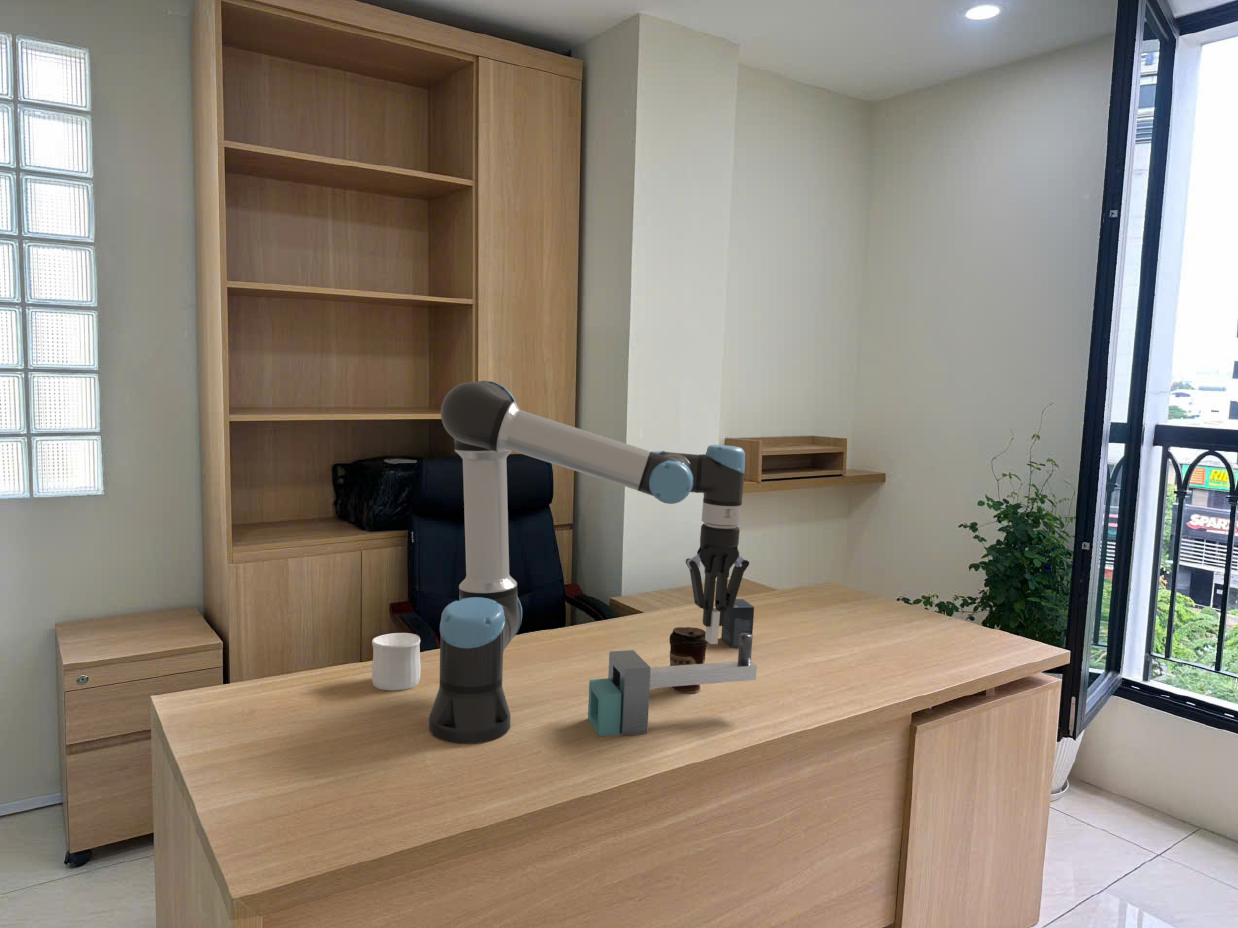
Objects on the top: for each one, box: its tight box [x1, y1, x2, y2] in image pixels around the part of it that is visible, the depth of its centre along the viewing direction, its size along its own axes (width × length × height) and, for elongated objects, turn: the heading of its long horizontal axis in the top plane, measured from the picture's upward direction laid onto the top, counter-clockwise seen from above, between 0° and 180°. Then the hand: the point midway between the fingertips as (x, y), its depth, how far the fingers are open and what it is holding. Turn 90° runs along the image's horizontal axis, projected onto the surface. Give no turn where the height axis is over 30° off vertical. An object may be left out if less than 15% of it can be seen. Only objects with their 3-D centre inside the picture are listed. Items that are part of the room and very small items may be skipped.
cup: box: [371, 632, 422, 692], centre depth 181 cm, size 10×10×10 cm
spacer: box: [587, 677, 622, 737], centre depth 164 cm, size 4×8×8 cm, turn 18°
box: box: [720, 598, 755, 648], centre depth 218 cm, size 8×6×11 cm
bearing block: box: [607, 649, 652, 737], centre depth 165 cm, size 5×10×13 cm, turn 18°
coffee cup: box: [668, 626, 709, 694], centre depth 185 cm, size 9×8×13 cm
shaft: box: [650, 633, 757, 689], centre depth 169 cm, size 26×3×9 cm, turn 108°
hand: (711, 641), depth 170 cm, fingers closed
